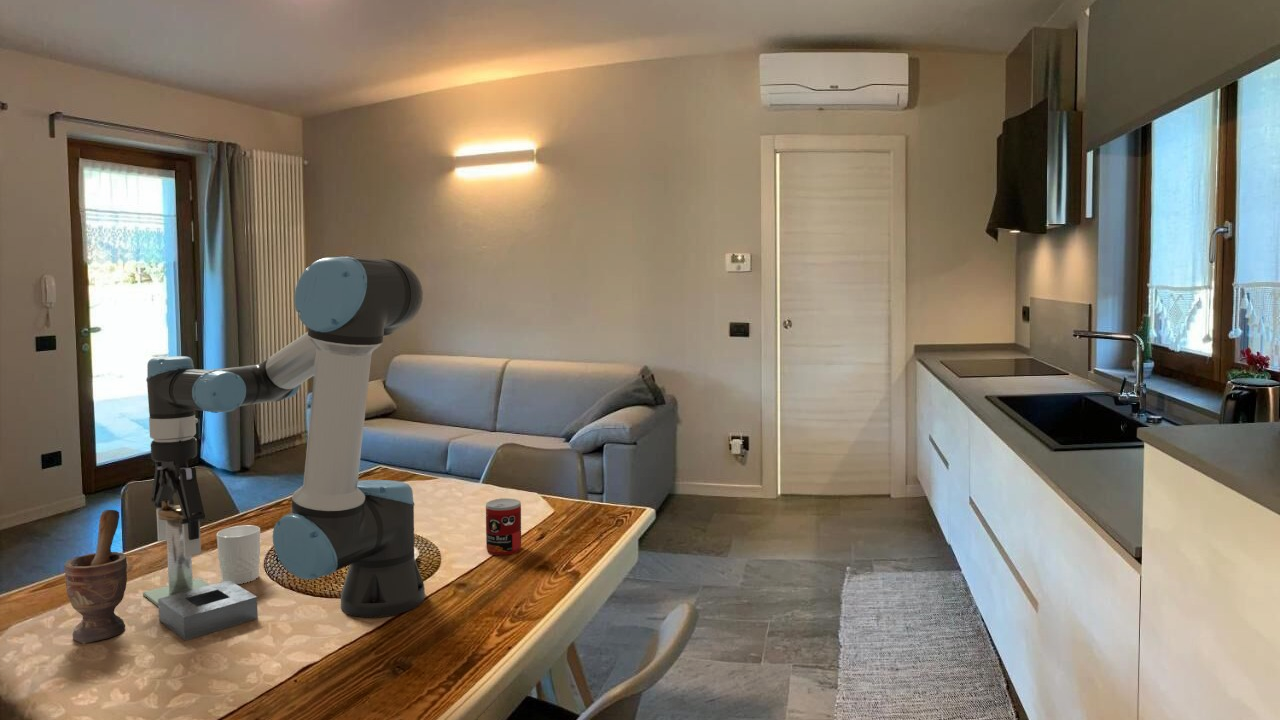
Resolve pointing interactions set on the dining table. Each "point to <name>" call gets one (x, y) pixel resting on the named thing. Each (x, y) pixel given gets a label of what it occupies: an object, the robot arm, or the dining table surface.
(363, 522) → the robot arm
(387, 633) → the dining table surface
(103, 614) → the mortar and pestle
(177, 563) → the steel peg
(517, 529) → the canned food
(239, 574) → the white cup
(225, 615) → the block
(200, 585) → the mat
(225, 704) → the dining table surface
